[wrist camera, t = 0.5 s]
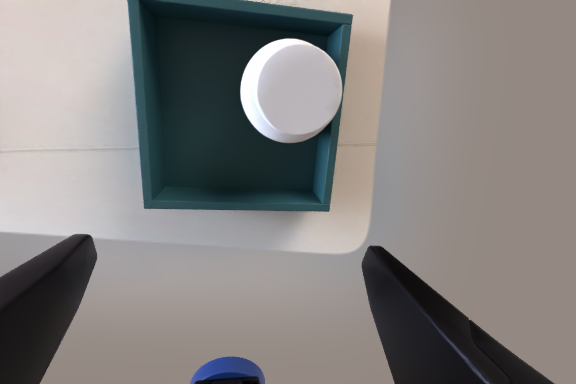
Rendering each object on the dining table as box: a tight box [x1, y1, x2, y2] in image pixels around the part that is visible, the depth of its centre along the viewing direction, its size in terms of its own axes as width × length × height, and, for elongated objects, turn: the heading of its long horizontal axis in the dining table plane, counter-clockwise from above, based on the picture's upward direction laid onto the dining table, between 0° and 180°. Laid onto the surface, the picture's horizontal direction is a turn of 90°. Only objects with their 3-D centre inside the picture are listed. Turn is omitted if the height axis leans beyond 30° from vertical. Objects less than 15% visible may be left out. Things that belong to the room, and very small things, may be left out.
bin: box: [127, 0, 353, 212], centre depth 20 cm, size 13×13×4 cm
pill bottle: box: [240, 39, 342, 143], centre depth 17 cm, size 5×5×10 cm
